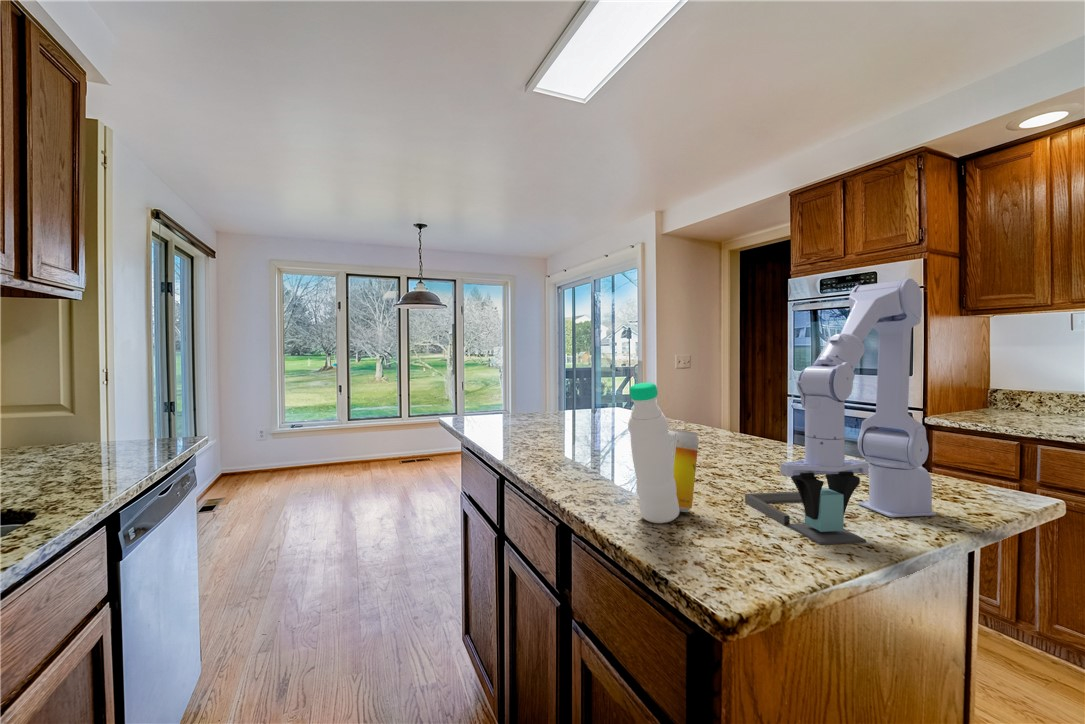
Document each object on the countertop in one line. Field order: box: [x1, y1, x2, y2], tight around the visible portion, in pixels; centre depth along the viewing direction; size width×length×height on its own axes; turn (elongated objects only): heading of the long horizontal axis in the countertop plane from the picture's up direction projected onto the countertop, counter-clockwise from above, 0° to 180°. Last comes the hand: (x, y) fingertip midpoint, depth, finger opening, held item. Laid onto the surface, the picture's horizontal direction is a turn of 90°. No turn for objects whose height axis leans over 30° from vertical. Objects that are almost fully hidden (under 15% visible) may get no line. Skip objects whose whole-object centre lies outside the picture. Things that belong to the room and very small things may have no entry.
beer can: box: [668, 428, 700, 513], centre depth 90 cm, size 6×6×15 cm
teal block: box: [804, 487, 845, 532], centre depth 78 cm, size 4×4×6 cm
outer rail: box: [744, 491, 802, 527], centre depth 89 cm, size 14×14×2 cm
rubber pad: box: [787, 522, 867, 545], centre depth 78 cm, size 8×8×1 cm
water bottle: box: [627, 382, 680, 524], centre depth 83 cm, size 7×7×25 cm
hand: (824, 517), depth 78 cm, fingers closed on teal block, 4 cm apart
